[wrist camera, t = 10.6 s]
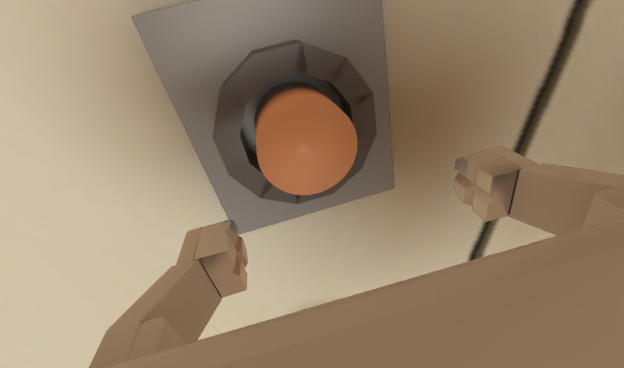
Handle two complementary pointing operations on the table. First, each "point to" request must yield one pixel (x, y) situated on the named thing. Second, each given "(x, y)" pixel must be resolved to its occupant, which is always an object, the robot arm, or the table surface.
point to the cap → (303, 139)
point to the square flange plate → (262, 78)
